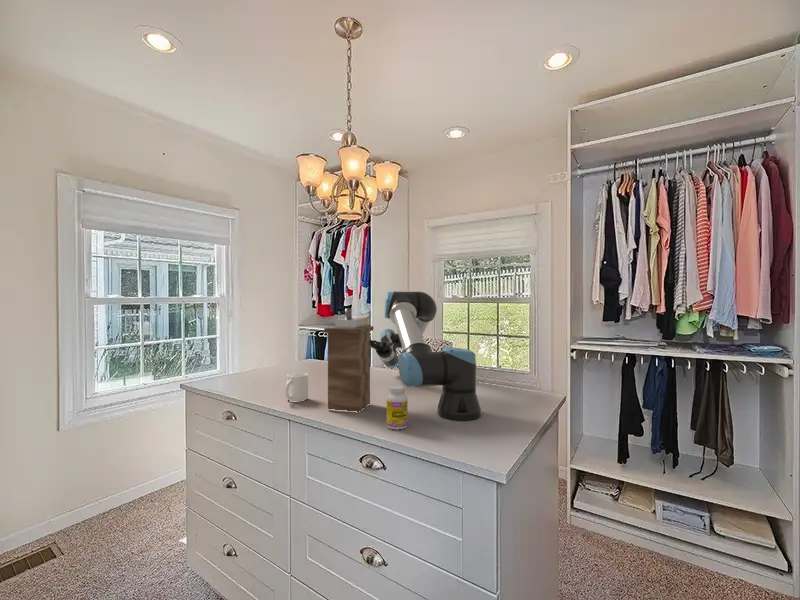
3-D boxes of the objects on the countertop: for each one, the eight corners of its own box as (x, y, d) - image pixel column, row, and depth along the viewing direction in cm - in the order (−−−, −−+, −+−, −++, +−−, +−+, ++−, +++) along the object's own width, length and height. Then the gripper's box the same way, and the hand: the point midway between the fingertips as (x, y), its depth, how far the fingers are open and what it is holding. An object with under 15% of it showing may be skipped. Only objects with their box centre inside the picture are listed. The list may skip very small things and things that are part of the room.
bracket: (354, 324, 161) (354, 307, 161) (373, 324, 159) (373, 307, 159) (335, 327, 142) (335, 308, 141) (355, 328, 140) (355, 308, 139)
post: (339, 401, 153) (339, 325, 153) (373, 403, 150) (373, 326, 149) (324, 411, 140) (324, 328, 139) (360, 414, 136) (360, 329, 136)
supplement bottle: (389, 431, 119) (389, 390, 119) (384, 424, 125) (384, 385, 125) (410, 429, 121) (410, 388, 121) (404, 422, 127) (404, 383, 127)
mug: (294, 406, 146) (294, 379, 146) (276, 404, 149) (276, 377, 149) (312, 398, 157) (312, 373, 157) (295, 396, 160) (295, 371, 160)
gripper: (408, 359, 185) (399, 341, 167) (359, 357, 191) (345, 340, 173) (410, 345, 188) (401, 326, 170) (362, 343, 195) (348, 325, 177)
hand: (373, 333), depth 172 cm, fingers open, 13 cm apart
